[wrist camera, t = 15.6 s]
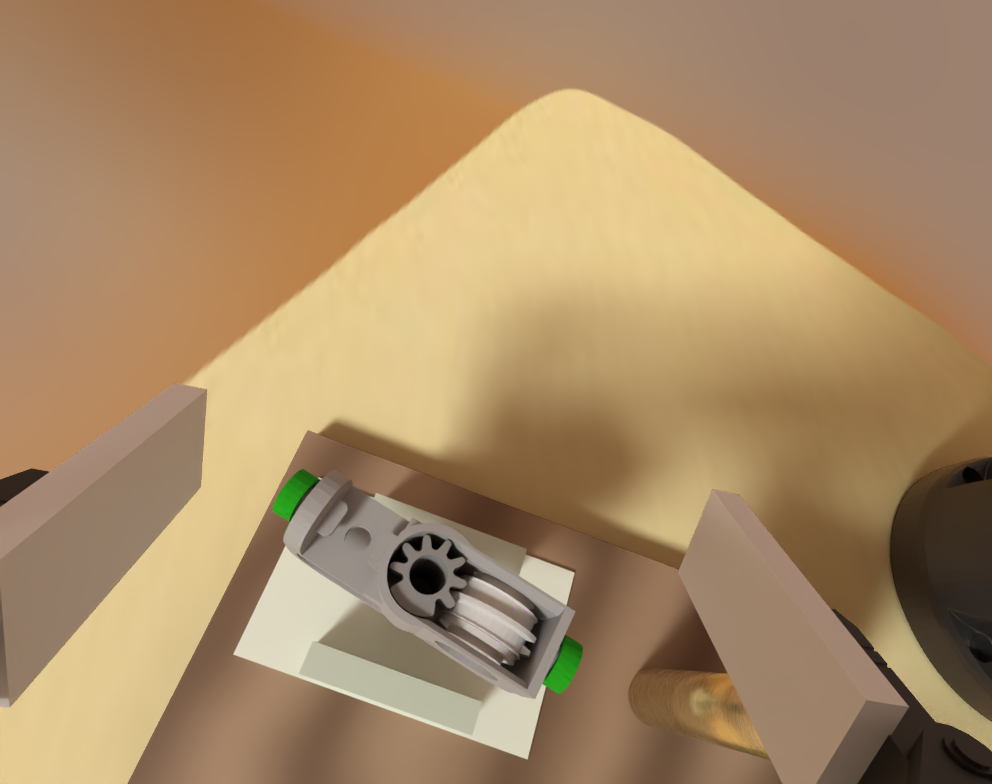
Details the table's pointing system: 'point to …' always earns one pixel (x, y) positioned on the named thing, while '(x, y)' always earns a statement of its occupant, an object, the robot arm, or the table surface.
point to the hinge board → (449, 668)
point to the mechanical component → (431, 584)
